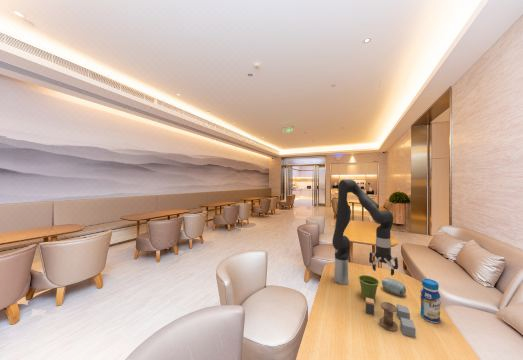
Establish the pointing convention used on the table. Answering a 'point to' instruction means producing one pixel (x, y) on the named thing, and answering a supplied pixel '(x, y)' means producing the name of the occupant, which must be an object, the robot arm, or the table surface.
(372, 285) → the plant pot
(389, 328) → the bobbin
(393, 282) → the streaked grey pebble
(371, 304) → the tan rectangular block
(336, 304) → the table surface
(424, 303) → the beverage bottle
